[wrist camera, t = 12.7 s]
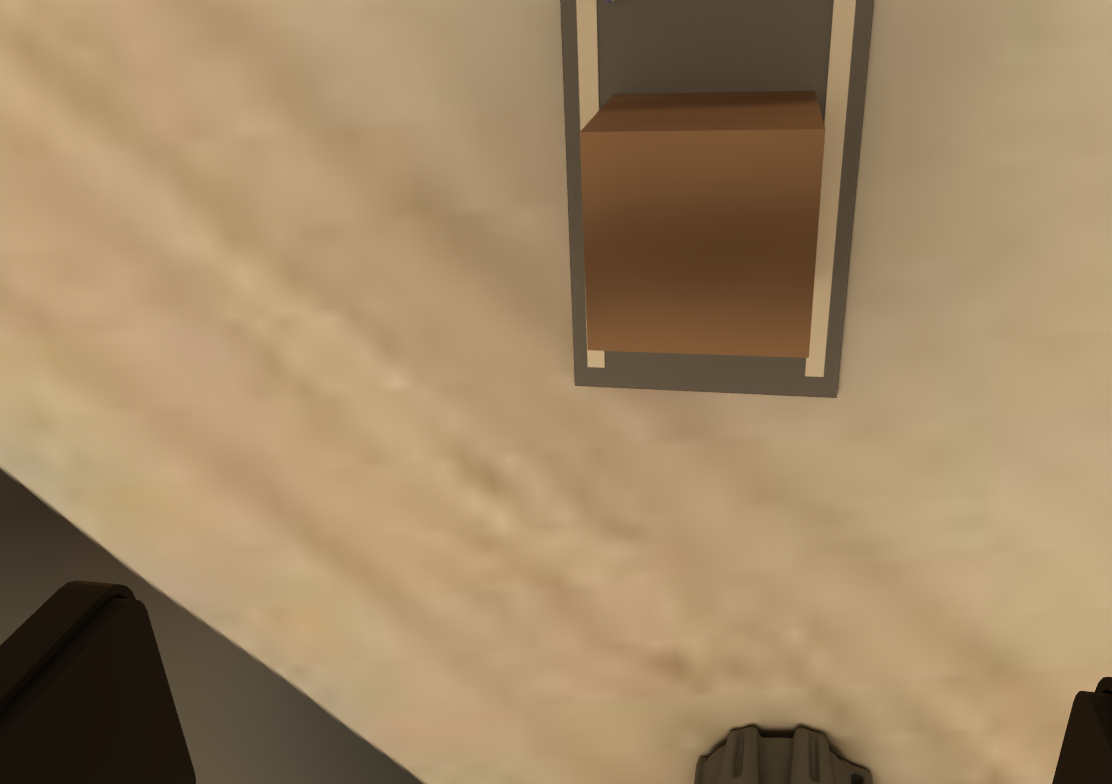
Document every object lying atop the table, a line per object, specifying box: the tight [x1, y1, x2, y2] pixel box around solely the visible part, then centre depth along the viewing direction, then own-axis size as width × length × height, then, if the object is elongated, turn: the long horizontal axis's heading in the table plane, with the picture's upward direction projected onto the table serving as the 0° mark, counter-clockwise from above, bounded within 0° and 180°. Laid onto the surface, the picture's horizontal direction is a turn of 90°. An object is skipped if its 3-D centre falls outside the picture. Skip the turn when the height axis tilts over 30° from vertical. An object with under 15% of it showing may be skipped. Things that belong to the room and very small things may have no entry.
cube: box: [580, 91, 825, 358], centre depth 28 cm, size 6×6×6 cm
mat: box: [560, 0, 874, 398], centre depth 30 cm, size 14×9×1 cm, turn 2°
